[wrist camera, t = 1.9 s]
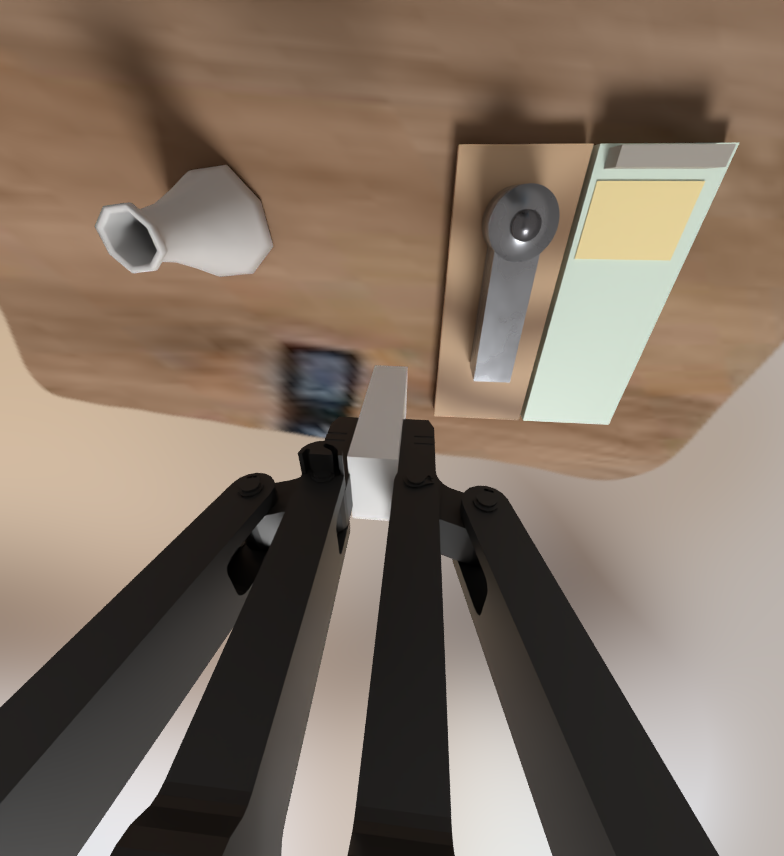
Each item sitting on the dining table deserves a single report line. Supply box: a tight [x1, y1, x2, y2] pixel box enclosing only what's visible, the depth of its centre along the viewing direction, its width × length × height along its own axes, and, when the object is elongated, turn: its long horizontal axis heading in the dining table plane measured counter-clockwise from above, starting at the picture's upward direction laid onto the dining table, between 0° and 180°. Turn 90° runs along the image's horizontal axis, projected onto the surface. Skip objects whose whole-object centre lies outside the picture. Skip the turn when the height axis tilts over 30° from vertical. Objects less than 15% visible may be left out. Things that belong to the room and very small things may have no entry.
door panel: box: [521, 143, 739, 425], centre depth 25 cm, size 20×8×3 cm, turn 0°
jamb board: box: [434, 144, 593, 420], centre depth 26 cm, size 20×8×1 cm, turn 0°
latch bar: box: [470, 183, 560, 383], centre depth 23 cm, size 12×4×4 cm, turn 0°
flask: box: [95, 165, 273, 277], centre depth 21 cm, size 7×7×10 cm
